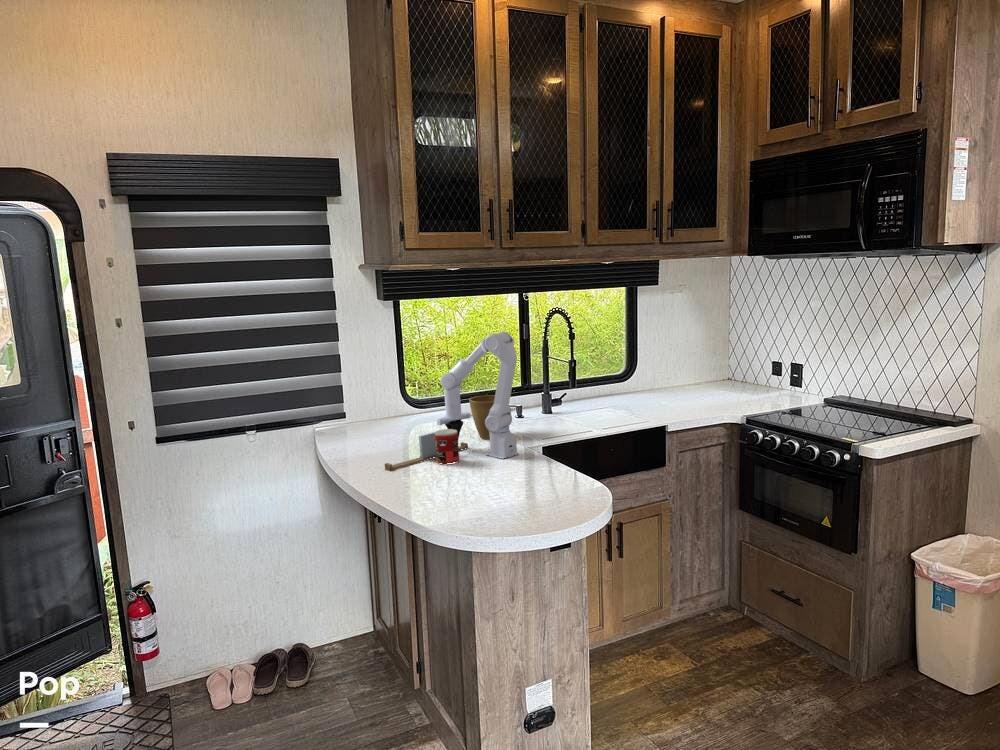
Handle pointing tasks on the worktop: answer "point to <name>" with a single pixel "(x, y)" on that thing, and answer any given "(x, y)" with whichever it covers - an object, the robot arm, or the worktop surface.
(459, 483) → the worktop surface
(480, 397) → the plant pot
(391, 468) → the rail
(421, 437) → the screen panel
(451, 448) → the canned food
